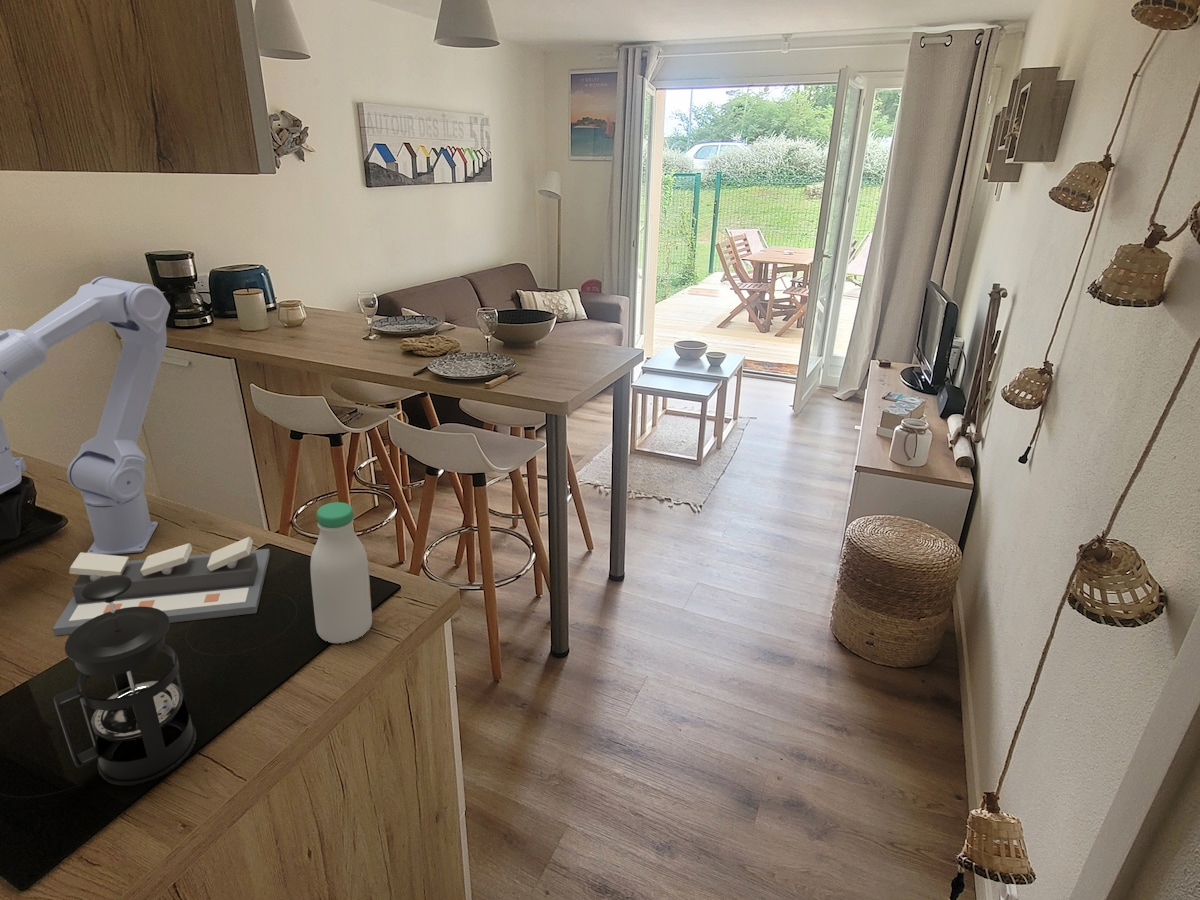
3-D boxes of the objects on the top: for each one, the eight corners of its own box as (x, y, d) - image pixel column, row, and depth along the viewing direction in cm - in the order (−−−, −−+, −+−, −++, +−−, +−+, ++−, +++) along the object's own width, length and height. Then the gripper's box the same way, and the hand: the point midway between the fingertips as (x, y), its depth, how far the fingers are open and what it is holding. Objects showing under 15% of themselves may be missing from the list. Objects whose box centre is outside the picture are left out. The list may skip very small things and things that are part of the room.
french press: (186, 703, 82) (151, 546, 73) (215, 748, 77) (182, 584, 67) (69, 757, 74) (14, 587, 65) (92, 812, 69) (36, 635, 59)
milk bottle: (374, 639, 96) (366, 519, 88) (316, 649, 93) (303, 526, 85) (370, 607, 102) (363, 493, 94) (316, 616, 99) (303, 498, 91)
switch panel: (95, 570, 105) (89, 548, 103) (269, 554, 112) (267, 534, 111) (54, 635, 91) (47, 612, 89) (256, 613, 99) (253, 590, 97)
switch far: (219, 561, 104) (212, 552, 103) (256, 545, 105) (249, 536, 104) (214, 576, 101) (206, 566, 100) (252, 559, 101) (245, 550, 100)
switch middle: (154, 566, 101) (147, 555, 100) (195, 553, 102) (189, 543, 101) (146, 581, 98) (140, 570, 97) (189, 567, 99) (183, 557, 98)
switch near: (79, 563, 98) (80, 552, 97) (127, 568, 100) (128, 556, 99) (69, 579, 94) (69, 567, 94) (119, 583, 97) (120, 571, 96)
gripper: (-28, 431, 95) (-1, 513, 100) (-87, 475, 82) (-53, 567, 88) (32, 429, 97) (55, 510, 102) (-17, 472, 84) (12, 562, 90)
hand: (9, 536), depth 95 cm, fingers closed
